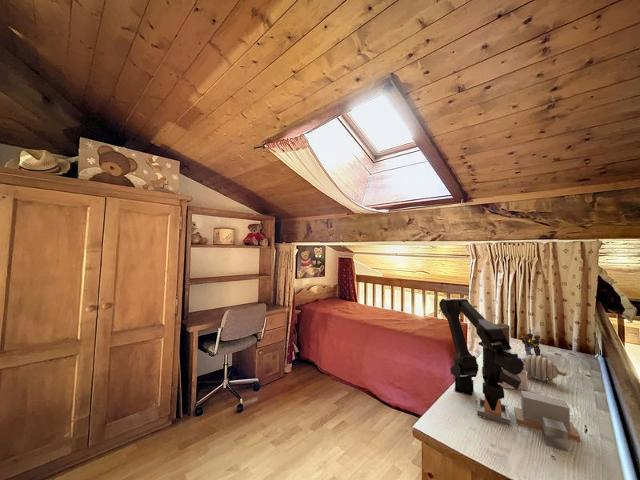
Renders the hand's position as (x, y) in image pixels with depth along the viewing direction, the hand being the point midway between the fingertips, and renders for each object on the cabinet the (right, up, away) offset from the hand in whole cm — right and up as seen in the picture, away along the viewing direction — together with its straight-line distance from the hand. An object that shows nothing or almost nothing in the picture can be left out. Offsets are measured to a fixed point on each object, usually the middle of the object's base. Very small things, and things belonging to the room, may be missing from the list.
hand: (492, 403), depth 95 cm
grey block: (+10, -3, -15) cm, 18 cm away
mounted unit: (+14, -3, -6) cm, 16 cm away
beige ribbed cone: (+38, -5, +23) cm, 45 cm away
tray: (0, -4, 0) cm, 4 cm away
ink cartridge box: (+21, -4, +19) cm, 28 cm away
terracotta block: (0, -3, 0) cm, 3 cm away
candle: (+34, -5, +43) cm, 54 cm away
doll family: (+55, -5, +48) cm, 73 cm away
